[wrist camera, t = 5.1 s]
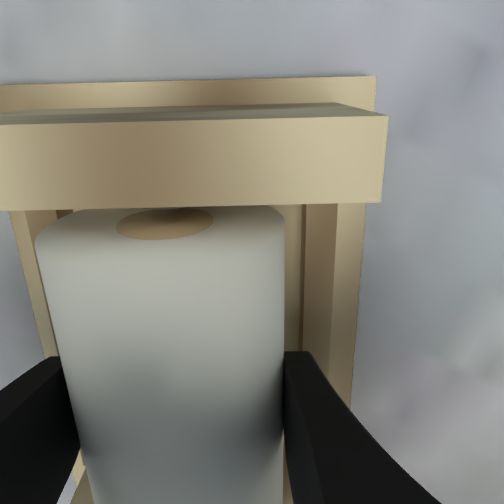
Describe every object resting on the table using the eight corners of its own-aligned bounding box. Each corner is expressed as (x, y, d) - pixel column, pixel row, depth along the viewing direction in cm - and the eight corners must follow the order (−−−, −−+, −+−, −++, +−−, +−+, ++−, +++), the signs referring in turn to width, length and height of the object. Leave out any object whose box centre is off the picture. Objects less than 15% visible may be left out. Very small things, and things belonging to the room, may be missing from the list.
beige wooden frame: (366, 76, 12) (458, 72, 6) (338, 459, 17) (377, 625, 12) (-1, 85, 12) (-199, 88, 6) (86, 464, 17) (14, 632, 12)
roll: (289, 435, 14) (273, 612, 9) (143, 421, 15) (62, 577, 10) (292, 193, 11) (271, 277, 6) (108, 190, 12) (-32, 264, 7)
